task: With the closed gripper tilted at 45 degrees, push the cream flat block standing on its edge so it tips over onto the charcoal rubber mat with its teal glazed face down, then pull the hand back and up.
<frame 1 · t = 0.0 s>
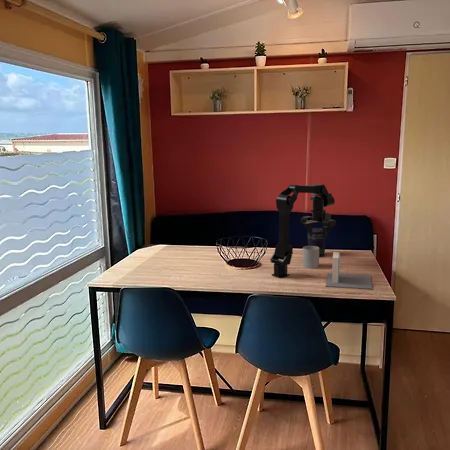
hand: (317, 237, 241), 15 cm above the table, tool pointing down, fingers open, 9 cm apart
mat: (348, 281, 215), on the table
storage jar: (316, 255, 261), on the table
cup: (310, 266, 240), on the table
cream flat block: (335, 279, 216), resting on mat
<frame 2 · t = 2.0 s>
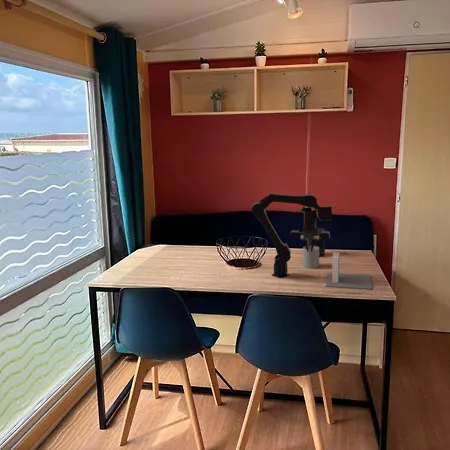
hand: (309, 251, 222), 12 cm above the table, tool pointing down, fingers closed
nothing on the table moved.
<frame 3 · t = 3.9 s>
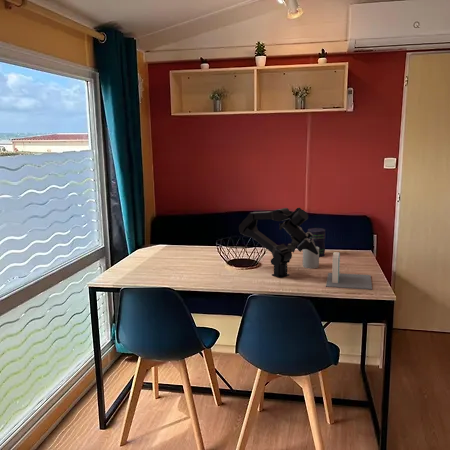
hand: (317, 254, 216), 13 cm above the table, tool tilted 45°, fingers closed
nothing on the table moved.
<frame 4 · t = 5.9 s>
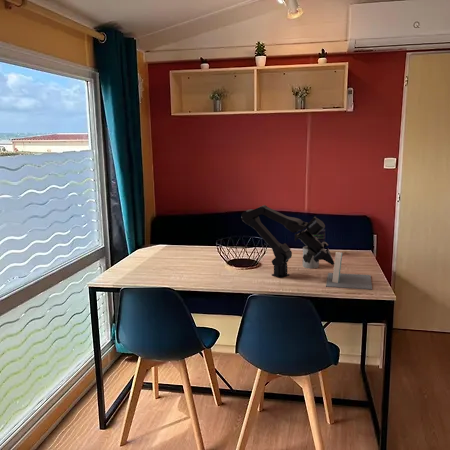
hand: (333, 264, 214), 8 cm above the table, tool tilted 45°, fingers closed
cream flat block: (335, 279, 216), point 1 cm above the table, tilted 5°, touching mat
everything else where it was.
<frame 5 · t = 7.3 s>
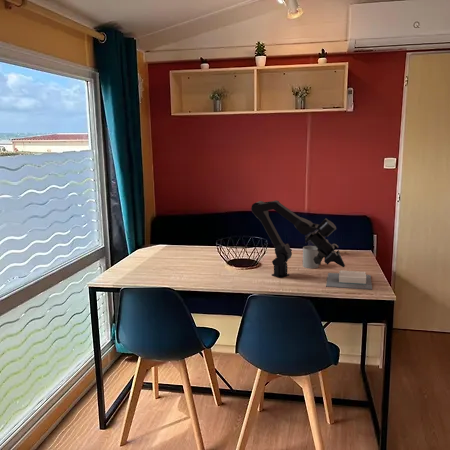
hand: (344, 266, 214), 7 cm above the table, tool tilted 45°, fingers closed
cream flat block: (339, 276, 215), point 2 cm above the table, tilted 90°, touching mat
everything else where it was.
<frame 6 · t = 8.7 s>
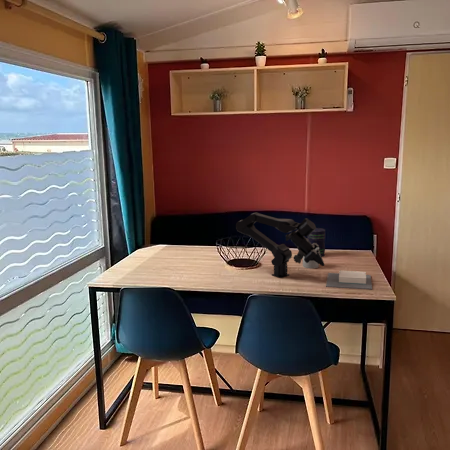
hand: (323, 265, 216), 7 cm above the table, tool tilted 45°, fingers closed
nothing on the table moved.
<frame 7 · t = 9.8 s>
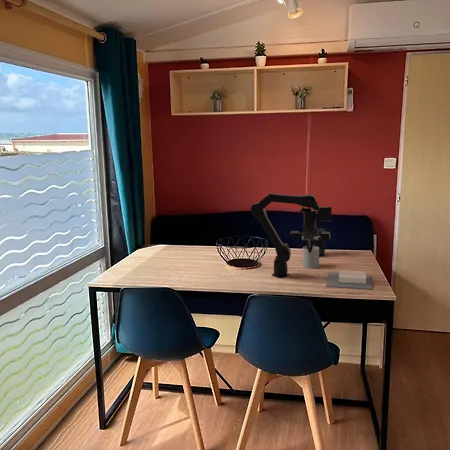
hand: (310, 252, 221), 12 cm above the table, tool pointing down, fingers closed
nothing on the table moved.
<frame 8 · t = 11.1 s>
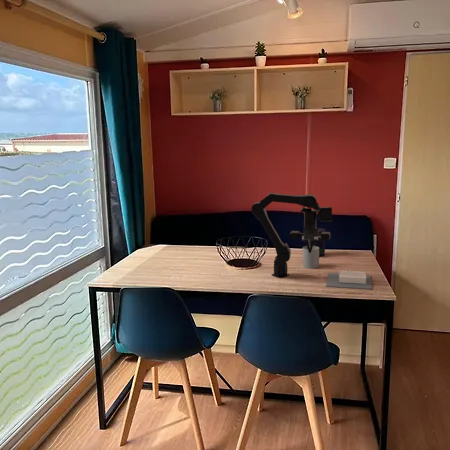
hand: (309, 252, 221), 12 cm above the table, tool pointing down, fingers closed
nothing on the table moved.
at the end: cream flat block tilted 90°; cream flat block inside the target area on the mat (0.2 cm from its centre), point 2.0 cm above the mat's base; cream flat block touching mat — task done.
